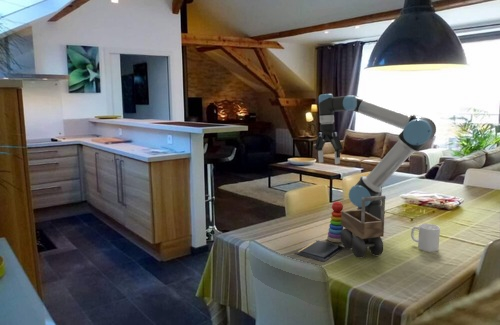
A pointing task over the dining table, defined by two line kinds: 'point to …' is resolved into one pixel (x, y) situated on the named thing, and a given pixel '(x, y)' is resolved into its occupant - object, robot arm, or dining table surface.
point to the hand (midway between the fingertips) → (329, 163)
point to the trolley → (363, 229)
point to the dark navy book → (320, 250)
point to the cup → (427, 237)
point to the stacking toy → (335, 223)
